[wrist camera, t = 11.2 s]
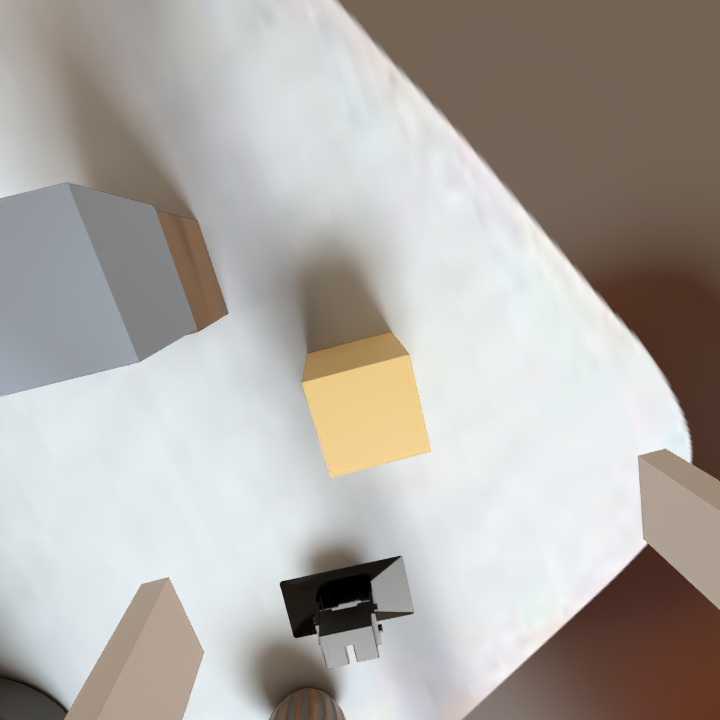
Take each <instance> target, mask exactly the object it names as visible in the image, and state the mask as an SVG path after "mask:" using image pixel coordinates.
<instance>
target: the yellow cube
mask: <svg viewBox="0 0 720 720" xmlns="http://www.w3.org/2000/svg"><path fill="white" fill-rule="evenodd" d="M302 386H303V389H304V392H305V396H306V399H307V402H308V405H309V409H310V412H311V415H312V418H313V422H314V425H315V428H316V431H317V435H318V438H319V441H320V444H321V448H322V451H323V454H324V457H325V461H326V464H327V467H328V470H329V474H330V477H331V478H333V477H337V476H341V475H344V474H348V473H352V472H356V471H359V470H363V469H367V468H371V467H375V466H378V465H382V464H386V463H390V462H393V461H397V460H401V459H405V458H408V457H412V456H416V455H420V454H424V453H427V452H431V448H430V444H429V439H428V435H427V430H426V426H425V422H424V417H423V413H422V408H421V404H420V399H419V395H418V390H417V386H416V382H415V377H414V373H413V368H412V364H411V359H410V355H409V353H408V352H407V351H406V349H405V348H404V347H403V346H402V344H401V343H400V342H399V341H398V339H397V338H396V337H395V336H394V334H393V333H392V332H388V333H384V334H380V335H377V336H373V337H369V338H365V339H361V340H358V341H354V342H350V343H346V344H342V345H339V346H335V347H331V348H327V349H323V350H320V351H316V352H312V353H308V354H307V359H306V364H305V369H304V373H303V378H302Z"/></svg>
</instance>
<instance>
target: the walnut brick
mask: <svg viewBox="0 0 720 720" xmlns="http://www.w3.org/2000/svg"><path fill="white" fill-rule="evenodd" d="M156 213H157V216H158V218H159V221H160V224H161V227H162V230H163V233H164V235H165V238H166V241H167V244H168V247H169V250H170V252H171V255H172V258H173V261H174V264H175V267H176V269H177V272H178V275H179V278H180V281H181V284H182V287H183V289H184V292H185V295H186V298H187V301H188V304H189V306H190V309H191V312H192V315H193V318H194V321H195V323H196V326H197V329H195V330H194V331H192V332H190V333H188V334H187V335H189V334H193V333H196V332H199V331H201V330H202V329H204V328H206V327H207V326H209V325H210V324H212V323H214V322H215V321H217V320H219V319H220V318H222V317H223V316H225V315H227V314H228V311H227V308H226V305H225V302H224V299H223V296H222V293H221V290H220V287H219V284H218V281H217V278H216V275H215V272H214V269H213V266H212V263H211V260H210V257H209V254H208V251H207V248H206V245H205V242H204V239H203V236H202V233H201V230H200V227H199V224H198V221H197V220H193V219H188V218H184V217H180V216H176V215H172V214H168V213H163V212H159V211H156Z"/></svg>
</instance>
